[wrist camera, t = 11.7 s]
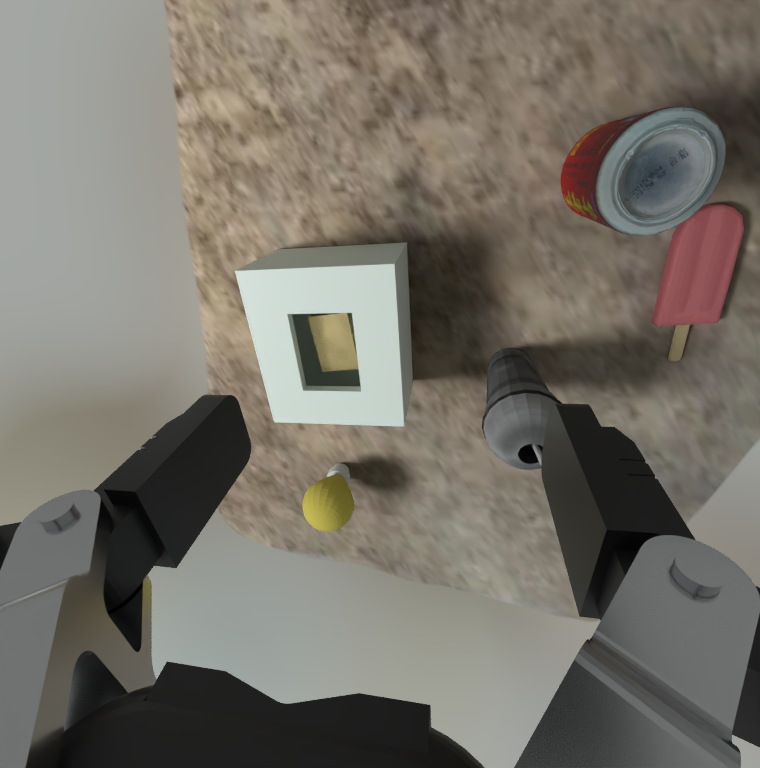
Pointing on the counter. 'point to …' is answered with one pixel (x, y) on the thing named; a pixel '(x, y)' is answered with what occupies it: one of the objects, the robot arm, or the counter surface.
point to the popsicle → (698, 271)
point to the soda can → (645, 170)
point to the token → (334, 340)
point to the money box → (332, 295)
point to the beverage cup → (516, 409)
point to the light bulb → (329, 500)
